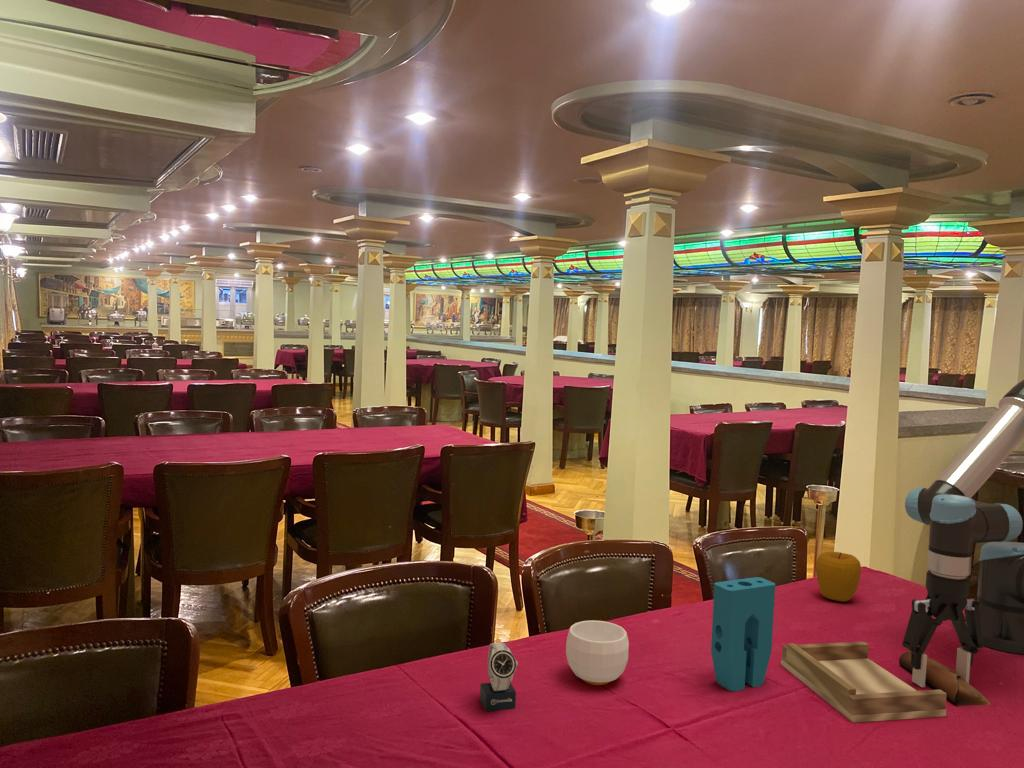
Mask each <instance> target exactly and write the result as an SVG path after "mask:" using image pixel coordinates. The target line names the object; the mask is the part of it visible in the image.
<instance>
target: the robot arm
mask: <svg viewBox="0 0 1024 768" xmlns="http://www.w3.org/2000/svg"><path fill="white" fill-rule="evenodd" d="M1023 440H1024V379H1022V380H1020V381H1019V382H1018V383H1016V384H1015V385H1014V386H1013V387H1012V388H1010V390H1008V391H1007V392H1006V393H1005V394H1004V396H1003V397H1002V398H1001V399H1000V400H999V402H998V410H997V411H996V412H995V413H994V414H993V416H991V418H989V420H988V421H987V422H986V423H985V424H984V426H983V427H982V428H981V429H979V431H978V432H977V433H976V434H975V436H974V437H973V438H972V439H971V440H970V441H969V442H968V443H967V445H966V446H965V447H964V448H963V449H962V450H961V451H960V452H959V453H958V454H957V456H955V458H954V459H953V460H952V462H951V463H950V464H949V465H948V466H947V467H946V468H945V469H944V470H943V471H942V473H940V475H939V476H938V477H937V478H936V479H935V481H934V482H932V484H931V485H930V486H929V487H928V488H926V487H917V488H914V489H912V490H910V491H909V492H908V494H906V498H905V500H904V509H905V512H906V513H907V516H908V517H909V518H911V519H912V520H913V521H916V522H919V523H921V524H924V525H926V526H929V535H928V537H929V539H928V550H927V562H926V563H927V564H926V568H927V569H928V570H927V571H926V577H925V589H926V592H927V595H926V596H925V599H924V600H917V599H916V598H913V599H912V601H911V612H910V616H909V620H908V623H907V627H906V630H905V633H904V636H903V641H902V643H901V645H902V647H903V648H905V649H906V650H908V651H909V652H911V667H913V672H912V673H911V674H912V675H911V676H912V677H911V681H912V682H913V683H914V684H916V685H917V686H919V687H920V688H926V681H925V679H926V665H927V657H928V655H927V654H926V653H924V652H925V651H926V649H927V647H928V645H929V643H930V641H931V639H932V638H933V636H934V634H935V632H936V631H937V628H938V626H941V625H942V624H943V622H944V621H945V622H946V621H951V623H952V626H953V629H954V631H955V633H956V636H957V638H958V641H959V643H960V647H957V649H956V650H957V651H956V663H955V664H956V665H955V672H956V673H957V674H959V675H961V677H960V678H961V679H963V680H964V681H966V682H967V683H968V684H970V673H971V672H970V671H971V670H970V669H971V667H972V666H973V662H974V660H973V659H974V654H975V655H977V654H978V653H979V649H983V648H984V646H985V647H987V648H990V649H994V650H997V651H1000V652H1001V651H1002V652H1005V653H1006V652H1007V653H1010V654H1011V653H1013V654H1020V655H1024V542H1014V541H1013V540H1015V539H1016V538H1017V537H1018V536H1020V535H1021V532H1022V531H1023V524H1024V523H1023V518H1022V515H1021V514H1020V512H1019V511H1018V509H1016V508H1015V507H1013V506H1012V505H1009V504H1007V503H998V502H994V503H986V502H982V501H981V502H980V501H979V500H975V499H973V498H972V497H973V496H975V494H976V493H977V492H978V491H979V490H980V488H981V487H982V486H983V485H985V483H986V481H988V479H989V478H991V476H992V475H993V474H994V472H995V471H996V470H997V469H998V468H999V467H1000V466H1001V464H1003V463H1004V462H1005V460H1006V459H1007V458H1008V457H1009V456H1010V455H1011V453H1012V452H1013V451H1014V450H1015V449H1016V448H1017V446H1019V444H1020V443H1021V442H1022V441H1023ZM980 543H984V544H983V545H982V546H981V549H980V550H981V551H980V557H979V559H978V561H979V562H978V566H979V567H978V580H977V582H978V584H977V597H976V599H974V598H971V597H968V596H969V594H970V587H971V586H970V584H971V583H970V582H971V579H970V578H969V576H971V573H972V572H971V571H972V570H971V569H972V555H973V544H980ZM963 611H964V612H963ZM932 616H933V617H932Z"/></svg>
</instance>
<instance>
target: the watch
mask: <svg viewBox="0 0 1024 768" xmlns="http://www.w3.org/2000/svg"><path fill="white" fill-rule="evenodd" d="M487 654H488V656H487V675H488V680H489V681H490V682H482V683H479V685H480V686H479V694H480V695H479V701H480V703H481V706H482V707H483V709H484V711H485V712H494V711H502V710H510V709H511V710H513V709H516V702H517V701H516V699H517V698H516V696H517V695H516V694H517V691H516V689H515V688H514V686H513V684H512V683H511V682H512V681H513V678H514V674H515V672H516V670H517V666H519V663H518V660H516V658H515V656H514V654H513V653H512V651H511V650H510V648H509V647H508V646H507V644H505V642H493V643H489V645H488V653H487Z"/></svg>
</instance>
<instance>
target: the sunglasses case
mask: <svg viewBox="0 0 1024 768" xmlns="http://www.w3.org/2000/svg"><path fill="white" fill-rule="evenodd" d="M898 664H899V666H902V667H904V668H905V669H907V670H908V671H909V672H911V673H913V667H911V651H905V652H903V653H902V654H901V655H900V656H899V659H898ZM960 677H961V675H959V674H957V673H956V670H953V669H952V668H949V666H946V665H944V664H942V663H941V662H939V661H937V660H934V659H933V658H930V657H928V656H927V665H926V679H925V683H927V684H929V685H930V686H932V687H933V688H934V690H939V689H940V690H942V691H943V692H945V693H947V696H946V699H947V698H948V699H949V700H950V701H951V702H952V703H955V705H956V706H957V707H959V706H960V707H964V706H965V707H966V706H967V707H968V706H969V707H970V706H988V705H992V703H991V702H990V700H988V698H987V697H985V696H984V695H983V694H982V693H981V692H980V691H978V690H977V689H976V688H975V687H973V686H972V685H971V684H970V683H969V684H968V683H967V682H966V681H964V680H963V679H961V678H960Z"/></svg>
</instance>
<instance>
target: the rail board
mask: <svg viewBox="0 0 1024 768" xmlns="http://www.w3.org/2000/svg"><path fill="white" fill-rule="evenodd" d="M869 646H870V645H869V643H867V642H865V641H851V642H830V643H829V642H827V643H825V642H824V643H806V644H795V643H786V644H785V645H784V644H783V645H782V650H781V651H782V652H781V653H782V654H781V659H780V660H781V661H780V665H781V666H782V667H783V668H785V669H786V670H787V671H788V672H790V673H791V674H792V675H793V676H794V677H796V678H797V679H798V680H800V681H801V682H802V683H803V684H805V686H807V687H808V688H810V690H811V691H813V692H814V693H816V695H818V696H819V697H820V698H821V699H822V700H824V701H826V702H827V703H828V704H829V705H830V706H831V707H833V708H834V709H835V710H836V711H837V712H839V713H840V714H842V715H843V716H844V717H845V718H846V719H847V720H849V721H850V722H851V723H867V722H883V721H894V720H908V719H909V720H910V719H924V718H925V719H926V718H939V717H941V718H942V717H946V716H947V709H946V707H947V697H946V696H947V693H945V692H943V691H942V690H940V689H939V690H937V689H928V690H927V689H926V690H924V689H923V690H916V688H914V687H913V686H911V685H909V684H908V683H907V682H905V681H903V680H902V679H900V678H898V677H897V676H896V675H894V674H893V673H891V672H889V671H888V670H886V669H885V668H883V667H881V666H880V665H878V664H877V663H875V662H874V661H873V660H871V659H869V649H870V647H869Z"/></svg>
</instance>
